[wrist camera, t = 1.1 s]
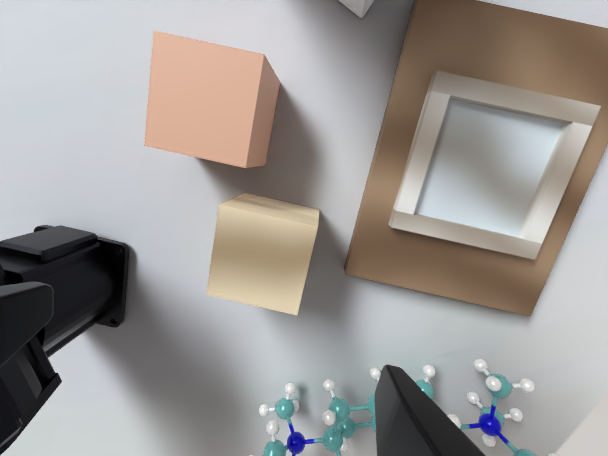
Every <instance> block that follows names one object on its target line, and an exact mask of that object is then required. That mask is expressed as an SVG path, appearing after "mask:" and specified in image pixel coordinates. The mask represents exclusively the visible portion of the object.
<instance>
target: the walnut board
mask: <svg viewBox="0 0 608 456" xmlns="http://www.w3.org/2000/svg"><path fill="white" fill-rule="evenodd" d="M607 144H608V28H603V27H598V26H594V25H589V24H584V23H580V22H575V21H570V20H566V19H561V18H556V17H552V16H547V15H542V14H538V13H533V12H528V11H523V10H519V9H514V8H509V7H505V6H500V5H495V4H491V3H486V2H481V1H477V0H415V1H414V5H413V9H412V13H411V16H410V20H409V24H408V28H407V31H406V35H405V39H404V43H403V47H402V50H401V54H400V58H399V62H398V65H397V69H396V73H395V77H394V80H393V84H392V88H391V92H390V96H389V99H388V103H387V107H386V111H385V114H384V118H383V122H382V126H381V130H380V133H379V137H378V141H377V145H376V148H375V152H374V156H373V160H372V163H371V167H370V171H369V175H368V179H367V182H366V186H365V190H364V194H363V197H362V201H361V205H360V209H359V212H358V216H357V220H356V224H355V228H354V231H353V235H352V239H351V243H350V246H349V250H348V254H347V258H346V262H345V265H344V270H345V274H347V275H351V276H356V277H360V278H364V279H369V280H373V281H378V282H382V283H386V284H391V285H395V286H400V287H404V288H408V289H413V290H417V291H421V292H426V293H430V294H435V295H439V296H443V297H448V298H452V299H457V300H461V301H465V302H470V303H474V304H479V305H483V306H487V307H492V308H496V309H500V310H505V311H509V312H514V313H518V314H522V315H527V316H531V314H532V311H533V309H534V307H535V305H536V303H537V300H538V298H539V296H540V294H541V291H542V289H543V287H544V285H545V282H546V280H547V278H548V276H549V273H550V271H551V269H552V267H553V264H554V262H555V260H556V258H557V256H558V253H559V251H560V249H561V247H562V244H563V242H564V240H565V238H566V235H567V233H568V231H569V229H570V226H571V224H572V222H573V220H574V218H575V215H576V213H577V211H578V209H579V206H580V204H581V202H582V200H583V197H584V195H585V193H586V191H587V188H588V186H589V184H590V182H591V179H592V177H593V175H594V173H595V171H596V168H597V166H598V164H599V162H600V159H601V157H602V155H603V153H604V150H605V148H606V146H607Z"/></svg>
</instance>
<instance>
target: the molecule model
mask: <svg viewBox="0 0 608 456" xmlns="http://www.w3.org/2000/svg"><path fill="white" fill-rule="evenodd" d="M474 367H475V369H476V370H477V371H479V372H484V373H485V374H486V375H487V376H488V377H487V378H486V381H485V384H486V388H487V390H488V391H489V393H490V394H491V395H493V401H492V405H491V407H486V408H484V407H483V406H482V404H481V403H480V402H479V401H480V398H479V396H478V394H476V393H475V392H469V393H468V395H467V398H468V401H469V402H470V403H472V404H477V405H478V406H479V407H480V408H481V409H482V411H481V416H480V417H479V421H478V422H479V423H476V424H465V425H461V421H460V419H459V418H458V417H457V416H456V415H454V414H448V415H447V416H448V417H449V418H450V419H451V420H452V421H453V422H454V423H455V424H456V426H457V427H458V428H459V429H460V430H461V429H472V428H481V430H482V431H483V432H484V433H485V434H484V435H483V437H482V439H483V442H484V444H485V445H486V446H488V447H494V446H495V444H496V440H495V438H494V436H499V437H500V439H501V440H502V441H503V442H504V443H505V444H506V445H507V446H508V447H509V448H510V449H511V450H512V451H513V452H514V455H513V456H536V455H535V454H534V453H533V452H531V451H529V450H526V449H519V450H517V449H516V448H515V447H514V446H513V445H512V444H511V443H510V442H509V441H508V440H507V439H506V438H505V437H504V436H503V435H502V434H501V430H502V427H503V424H504V420H503V419H506V418H511V419H513V420H514V421H516V422H520V421H522V420H523V414H522V412H521V411H520V410H519V409H517V408H511V409H510V410H509V414H503V415H501V413H500V412H499V411H498V410H496V405H497V400H498V398H506V397H508V396H509V395H510V393H511V388H521V389H522V390H523V391H524V392H526V393H532V392H534V391H535V385H534V383H533V382H532V381H531V380H529V379H526V378H523V379H521V380H520V381H519V384H510V383H509V381H508V380H507V379H506V378H505V377H503V376H502V375H499V374H490V373H489V372H488V371H487V367H488V366H487V363H486V362H485V361H484V360H482V359H477V360H475V362H474ZM423 373H424V375H425V376H426V377H425V380H419V381H417V382H416V384H417V385H418V386H419V387H420V388H421V389H422V390H423V391H424V392H425V393H426V394H427V395H428V396H429V397H430V399H431V400H432V398H433V396H434V390H433V387H432V385H431V383H430V381H428V380H429V378H432V377H434V375H435V369H434V367H432V366H431V365H425V366H424V367H423ZM380 375H381V372H380V370H379V369H377V368H373V369H371V371H370V376H371V377H372V379H374V380H377V381H379V378H380ZM377 384H378V382H377ZM323 387H324V390H325V391H327V392H330V394H331V396H332V398H333V400H332V401H331V403H330V405H329V410H327V411H325V412H324V414H323V417H322V418H323V422H324V423H325V424H326V425H327V426H331V425H333V424H334V427H330V428H328V429H326V431H325V432H324V434H323V438H318V439H308V440H305V438H304V436H303V435H302V434H301V433H300V432H294V429H293V425H292V422H291V419H290V417H291V416H292V415H293V413H294V412H296V411H298V409H299V402H298V401H296V400H292V401H291V400H290V395H293V394H294V393H295V391H296V387H295V385H294V384H293V383H288V384H287V385H286V386H285V392H286V393H287V397H286V398H283V399H281V400H280V401H279V402H278V403H277V406H276V407H274V408H269V406H268V405H267V404H262V405H261V406H260V408H259V414H260V415H261V416H267V415H268V414H269V412H271V411H276V412H277V415H278V416H279V417H280V418H281V419H287V421H288V424H289V428H290V431H291V434H290V435H289V437H288V439H287V445H286V446H284V445H283V443H282V442H281V441H279V440H276V437H275V435H276V434H277V433H278V431H279V423H278V422H277V421H276V420H270V421H269V422H268V423H267V426H266V430H267V433H268V434H269V435H271V437H272V440H271V441H270V442H268V443H267V445H266V446H265V448H264V453H263V454H264V455H263V456H286V450H287V449H289V451H290V452H291V453H292V456H295V455H296V454H299V453H301V452H302V451H303V449H304V447H305V444H312V443H322V442H323V444H324V446H325V448H326V449H327V450H329V451H331V452H336V453H337V456H341V453H340V451H339V450H341V451H343V452H345V451H347V450H348V448H349V444H348V441H347V440H346V439H348V438H351V437H353V435H354V434H355V432H356V428H360V427H368V426H372V428H373V430H374V431H375V432H376V421H375V400H374V399H375V394H373V395H372V396H371V397H370V398H369V399H368V403H367V405H360V406H350V407H349V404H348V403H347V401H346V400H344V399H343V398H336V396H335V394H334V391H333V390H334V389H335V383H334V382H333V381H332V380H331V379H327V380H325V381H324V384H323ZM364 409H368V410H369V412H370V414H371V415H372V417H371V422H368V423H360V424H355V422H354V421H353V419H351V418H350V417H349V414H350V411H354V410H364ZM249 456H255V455H249ZM547 456H559V455H558V454H555V453H549V454H548V455H547Z"/></svg>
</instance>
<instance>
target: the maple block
mask: <svg viewBox="0 0 608 456" xmlns="http://www.w3.org/2000/svg"><path fill="white" fill-rule="evenodd" d="M318 221H319V209H315V208H311V207H306V206H302V205H298V204H293V203H289V202H284V201H280V200H275V199H271V198H266V197H262V196H258V195H253V194H249V193H243V194H241V195H239V196H237V197H234V198H232V199H230V200H228V201H226V202H223V203H221V204H219V211H218V218H217V224H216V231H215V238H214V245H213V251H212V258H211V265H210V272H209V278H208V285H207V292H206V295H210V296H214V297H218V298H223V299H227V300H232V301H236V302H240V303H245V304H249V305H253V306H258V307H262V308H266V309H271V310H275V311H279V312H284V313H288V314H293V315H297V314H298V310H299V306H300V302H301V297H302V293H303V289H304V285H305V280H306V276H307V272H308V267H309V263H310V259H311V255H312V250H313V246H314V242H315V238H316V233H317V229H318Z"/></svg>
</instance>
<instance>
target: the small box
mask: <svg viewBox="0 0 608 456" xmlns="http://www.w3.org/2000/svg"><path fill="white" fill-rule="evenodd" d="M339 1H340V2H341V3H342V4H344V5H345V6H346V7H347V8H349V9H350V10H351V11H352V12H354V13H355V14H356V15H357V16H358V17H360V18H363V17H364V16H365V14H366V12H367V11H368V9H369V8H370V6H371V5H372V3H373V2H374V0H339Z"/></svg>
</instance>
